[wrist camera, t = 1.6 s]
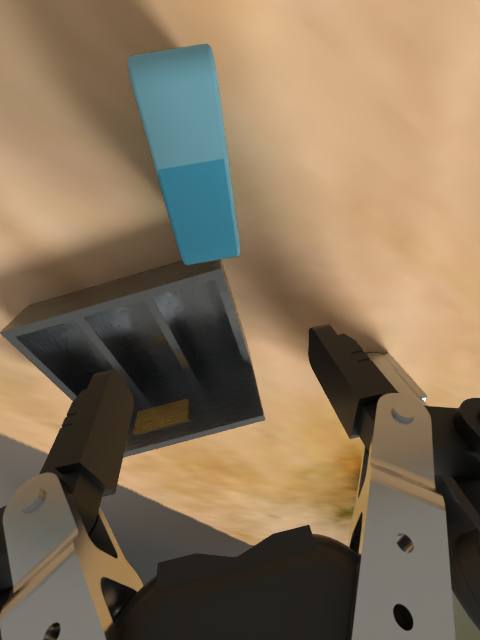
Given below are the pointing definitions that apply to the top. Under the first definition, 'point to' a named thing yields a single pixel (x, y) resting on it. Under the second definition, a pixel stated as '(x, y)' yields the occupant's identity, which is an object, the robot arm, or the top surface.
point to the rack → (151, 350)
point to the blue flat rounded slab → (188, 148)
